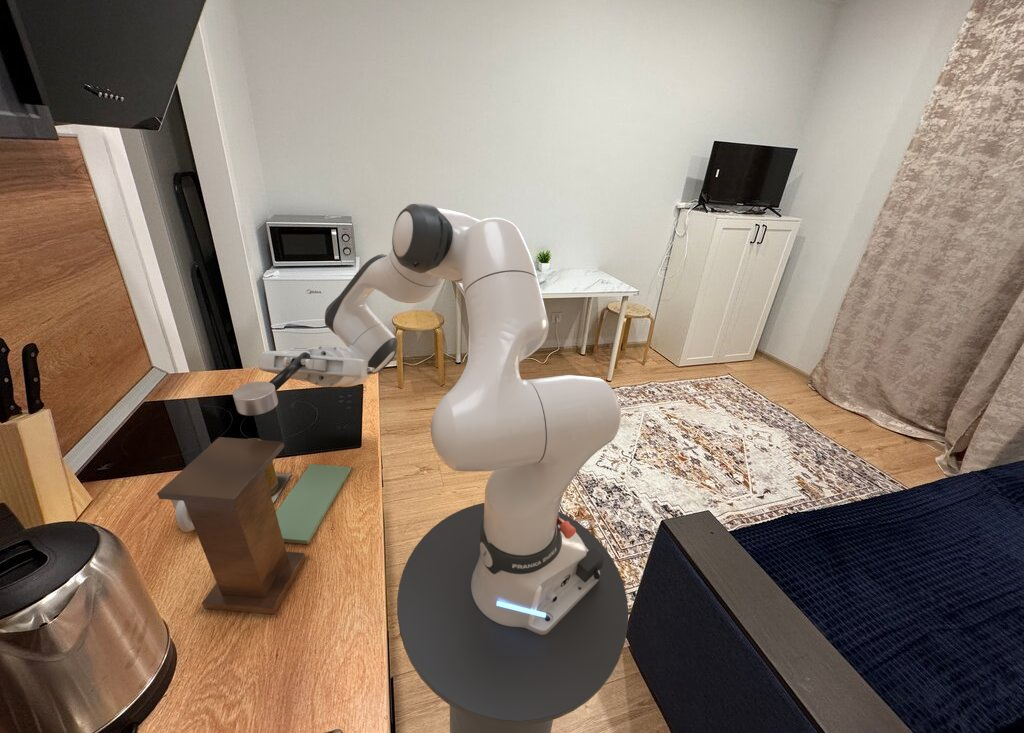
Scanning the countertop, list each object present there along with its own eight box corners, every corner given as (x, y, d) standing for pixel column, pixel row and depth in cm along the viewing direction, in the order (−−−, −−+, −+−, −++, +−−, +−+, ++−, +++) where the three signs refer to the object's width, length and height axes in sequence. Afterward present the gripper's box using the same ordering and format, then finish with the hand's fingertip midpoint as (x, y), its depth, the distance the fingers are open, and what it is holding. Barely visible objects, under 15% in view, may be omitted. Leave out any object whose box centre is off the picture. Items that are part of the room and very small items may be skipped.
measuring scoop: (293, 358, 80) (291, 344, 79) (322, 360, 80) (320, 347, 78) (228, 414, 63) (224, 398, 61) (265, 417, 63) (261, 401, 61)
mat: (311, 467, 94) (310, 463, 93) (350, 470, 93) (350, 466, 93) (259, 540, 76) (258, 536, 75) (308, 544, 76) (307, 540, 75)
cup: (233, 500, 84) (222, 466, 80) (210, 541, 75) (196, 505, 71) (193, 503, 82) (179, 468, 78) (165, 545, 74) (148, 509, 70)
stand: (250, 544, 75) (215, 436, 64) (311, 549, 75) (286, 441, 64) (204, 609, 64) (152, 493, 53) (274, 614, 64) (237, 499, 53)
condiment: (236, 503, 83) (220, 455, 78) (257, 474, 91) (245, 428, 85) (273, 503, 84) (261, 456, 78) (292, 474, 91) (281, 430, 86)
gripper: (376, 384, 89) (350, 384, 75) (281, 377, 89) (239, 376, 75) (378, 355, 89) (354, 349, 75) (284, 348, 89) (242, 341, 76)
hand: (295, 362), depth 75 cm, fingers closed on measuring scoop, 2 cm apart
